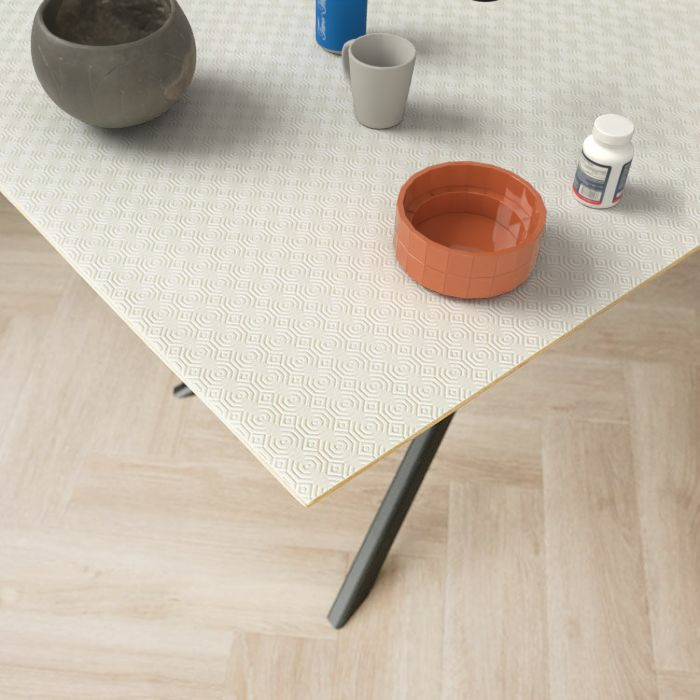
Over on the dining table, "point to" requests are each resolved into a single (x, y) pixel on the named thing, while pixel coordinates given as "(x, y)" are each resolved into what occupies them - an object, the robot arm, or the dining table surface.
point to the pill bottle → (604, 162)
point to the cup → (379, 77)
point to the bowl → (113, 58)
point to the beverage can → (339, 22)
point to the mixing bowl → (468, 229)
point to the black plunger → (485, 0)
